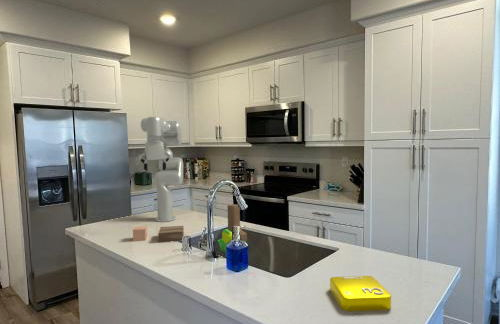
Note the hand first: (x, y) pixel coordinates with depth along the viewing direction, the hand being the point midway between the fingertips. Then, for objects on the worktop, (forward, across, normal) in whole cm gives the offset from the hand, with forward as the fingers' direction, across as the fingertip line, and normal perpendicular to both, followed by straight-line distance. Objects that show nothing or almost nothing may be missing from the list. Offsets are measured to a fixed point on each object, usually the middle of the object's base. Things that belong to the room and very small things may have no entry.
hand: (155, 170), depth 177 cm
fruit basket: (+36, -21, +51) cm, 66 cm away
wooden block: (+36, -31, +39) cm, 61 cm away
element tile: (+38, -37, +110) cm, 122 cm away
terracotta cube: (+35, +10, +8) cm, 37 cm away
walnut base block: (+35, -4, +15) cm, 39 cm away
